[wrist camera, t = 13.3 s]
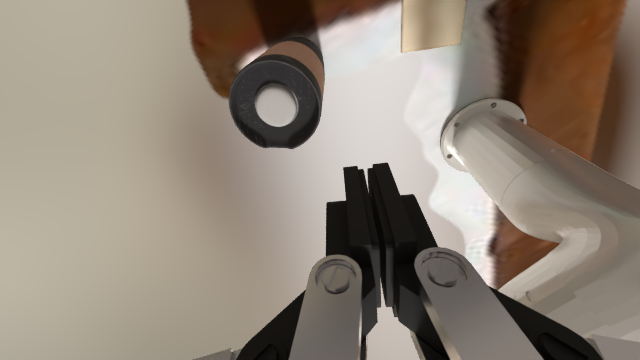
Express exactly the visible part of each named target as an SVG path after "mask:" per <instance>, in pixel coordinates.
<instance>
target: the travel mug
mask: <svg viewBox="0 0 640 360" xmlns="http://www.w3.org/2000/svg"><path fill="white" fill-rule="evenodd" d="M324 81H325V74H324V62H323V57H322V54H321V52H320V50H319V49H318V47H317V46H316V45H315V44H314V43H313V42H312V41H310V40H308V39H306V38H302V37H293V38H289V39H287V40H284V41H282V42H280V43H278V44H276V45H274V46H272V47H271V48H270V49H268V50H267V51H266V52H264V53H263V54H262V55H260V56H259V57H258V58H256V59H255V60H254V61H252V62H251V63H249V64H248V65H247V66H245V67H244V68H243V69H242V70H241V71H240V72H239V73H238V75H237V76H236V77H235V79H234V81H233V83H232V86H231V89H230V93H229V107H230V112H231V115H232V118H233V120H234V122H235V124H236V126H237V127H238V129H239V130H240V131H241V133H242V134H243V135H244V136H245V137H246V138H248V139H249V140H250V141H251V142H253V143H255V144H256V145H258V146H260V147H263V148H269V147H275V148H276V147H277V148H289V149H294V148H296V147H298V146H300V145H302V144H303V143H304V142H306V141H307V140H308V139H309V138H310V137H311V136H312V135H313V133H314V132H315V130H316V128H317V126H318V124H319V121H320V117H321V110H322V100H323V91H324Z"/></svg>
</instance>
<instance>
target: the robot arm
mask: <svg viewBox="0 0 640 360" xmlns="http://www.w3.org/2000/svg"><path fill="white" fill-rule="evenodd" d="M441 152H442V155H443V157H444V159H445V160H446V161H447V163H448V164H449V165H450V166H452V167H453V168H454V169H456V170H458V171H462V172H468V173H470V174H471V175H472V177H473V178H474V179H475V180H476V181H477V182H478V184H479V185H480V186H481V187H482V188H483V190H484V191H485V192H486V193H487V194H488V195H489V197H490V198H491V199H492V200H493V201H494V203H495V204H496V205H497V206H498V207H499V208H500V210H501V211H502V212H503V213H504V214H505V215H506V217H507V218H508V219H509V220H510V221H511V222H512V223H513V224H514V225H515V226H516V227H517V228H519V229H520V230H521V231H523V232H525V233H527V234H529V235H531V236H533V237H536V238H539V239H543V240H547V241H551V242H556V243H561V244H560V245H559V246H557V247H556V248H555V249H554V250H552V251H551V252H549V253H548V255H547V256H545V257H544V258H542V259H541V260H539V261H538V262H536V263H535V264H533V265H532V266H531V267H529V268H528V269H526V270H525V271H523V272H522V273H520V274H519V275H517V276H516V277H515V278H513V279H512V280H511V281H509V282H508V283H506V284H505V285H504V286H503V287H501V288H500V289H499V290H498V291H497V290H495V289H493V288H491V287H490V286H488V285H487V284H486V283H485V282H484V280H483V279H482V278H481V276H480V275H479V274H478V272H477V271H476V270H475V268H474V267H473V266H472V264H471V263H470V262H469V261H468V260H467V259H466V258H465V257H464V256H462V255H461V254H459V253H457V252H456V251H453V250H450V249H447V248H440V247H438V246H437V244H436V241H435V239H434V237H433V235H432V232H431V231H430V228H429V226H428V224H427V222H426V219H425V217H424V215H423V213H422V211H421V208H420V206H419V204H418V202H417V200H416V198H415V196H414V195H413V194H410V195H400V194H399V191H398V188H397V186H396V183H395V181H394V178H393V175H392V173H391V170H390V167H389V165H388V163H380V164H373V168H369V169H368V189H369V193H368V189H367V184H366V179H365V175H364V170H363V169H359V170H358V167H357V166H353V167H344V168H343V170H344V181H345V192H346V201H337V202H327V208H326V210H327V211H326V212H327V213H326V257H324V258H323V259H321V260H319V261H318V262H317V263H316V264H315V265H314V266H313V267H312V270H311V272H310V275H309V279H308V284H307V287H306V290H305V291H304V292H303V293H301V294H300V295H299V296H298V297H297V298H296V299H295V300H294V301H293V302H292V303H290V304H289V305H288V306H287V307H286V308H285V309H284V310H283V311H282V312H280V314H278V315H277V316H276V317H275V318H274V319H273V320H272V321H271V322H270V323H268V324H267V325H266V326H265V327H264V328H263V329H262V330H261V331H260V332H258V333H257V334H256V335H255V336H254V337H253V338H252V339H251V340H250V341H248V343H247V344H246V345H245V346H244V347H243V348H242V349H239V350H236V351H233V350H232V349H227V350H224V351H220V352H217V353H214V354H211V355H207V356H203V357H200V358H197V359H193V360H367V340H368V338H367V334H368V333H369V332H370V331H371V329H372V328H373V327H374V326H375V324H376V323H377V308H378V307H381V289H380V287H381V286H380V278H381V283H382V288H383V294H384V299H385V304H386V307H392V309H393V313H394V317H398V319H399V321H400V322H401V323H402V324H403V325H405V326H406V327H407V328H409V330H410V334H411V338H412V340H413V343H414V345H415V348H416V350H417V352H418V355H419V358H420V360H640V189H637V188H635V187H633V186H632V185H630V184H628V183H626V182H624V181H622V180H620V179H619V178H617V177H615V176H613V175H611V174H609V173H607V172H605V171H604V170H602V169H600V168H599V167H597V166H595V165H593V164H592V163H590V162H588V161H587V160H585V159H583V158H582V157H580V156H578V155H577V154H575V153H573V152H571V151H570V150H568V149H566V148H565V147H563V146H561V145H560V144H558V143H556V142H555V141H553V140H551V139H549V138H548V137H546V136H544V135H543V134H541V133H539V132H538V131H536V130H534V129H533V128H531V127H529V126H527V122H526V117H525V114H524V113H523V111H522V110H521V108H519V107H518V106H517V105H516V104H514V103H512V102H510V101H507V100H504V99H497V98H491V99H484V100H481V101H477V102H475V103H473V104H470V105H468V106H467V107H465V108H464V109H462V110H461V111H460V112H458V113H457V114H456V115H455V116H454V117H453V118H452V119H451V121H450V122H449V123H448V125H447V126H446V128H445V130H444V132H443V135H442V138H441Z"/></svg>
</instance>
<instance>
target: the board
mask: <svg viewBox="0 0 640 360" xmlns="http://www.w3.org/2000/svg"><path fill="white" fill-rule="evenodd" d="M465 8H466V0H402V35H401V52H402V53H406V52H412V51H419V50H425V49H432V48H439V47H445V46H452V45H458V44H461V38H462V30H463V23H464V15H465Z"/></svg>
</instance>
